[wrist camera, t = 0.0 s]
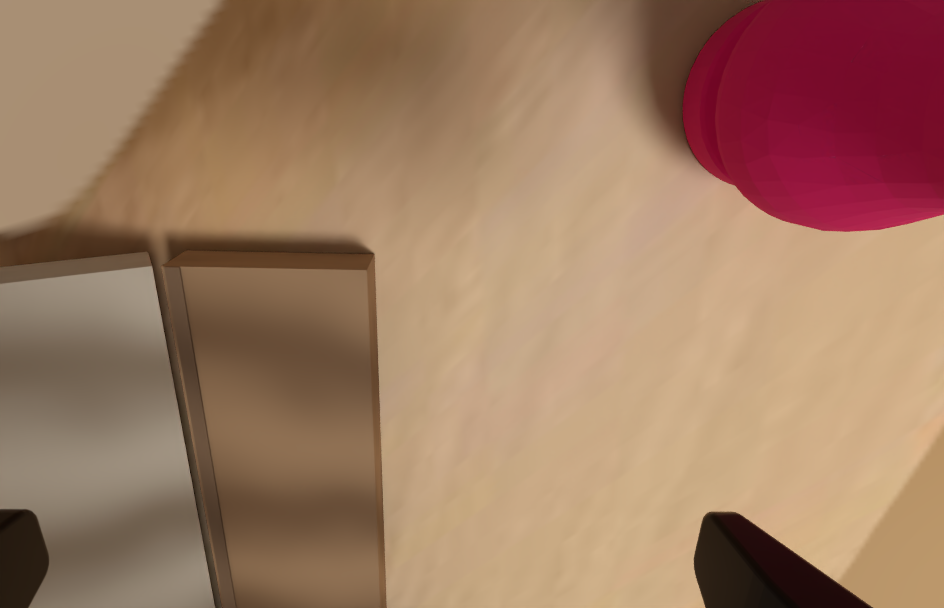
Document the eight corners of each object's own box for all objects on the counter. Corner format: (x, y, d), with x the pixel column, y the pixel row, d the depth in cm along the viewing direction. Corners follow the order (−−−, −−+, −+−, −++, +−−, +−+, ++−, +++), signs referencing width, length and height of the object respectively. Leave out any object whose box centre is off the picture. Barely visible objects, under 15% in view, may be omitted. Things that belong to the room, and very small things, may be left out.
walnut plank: (388, 660, 29) (383, 701, 27) (252, 661, 29) (237, 702, 27) (374, 254, 21) (366, 270, 19) (186, 250, 21) (159, 267, 19)
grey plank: (224, 666, 29) (232, 700, 27) (58, 742, 25) (55, 786, 24) (147, 251, 21) (152, 265, 19) (-112, 278, 17) (-132, 299, 16)
